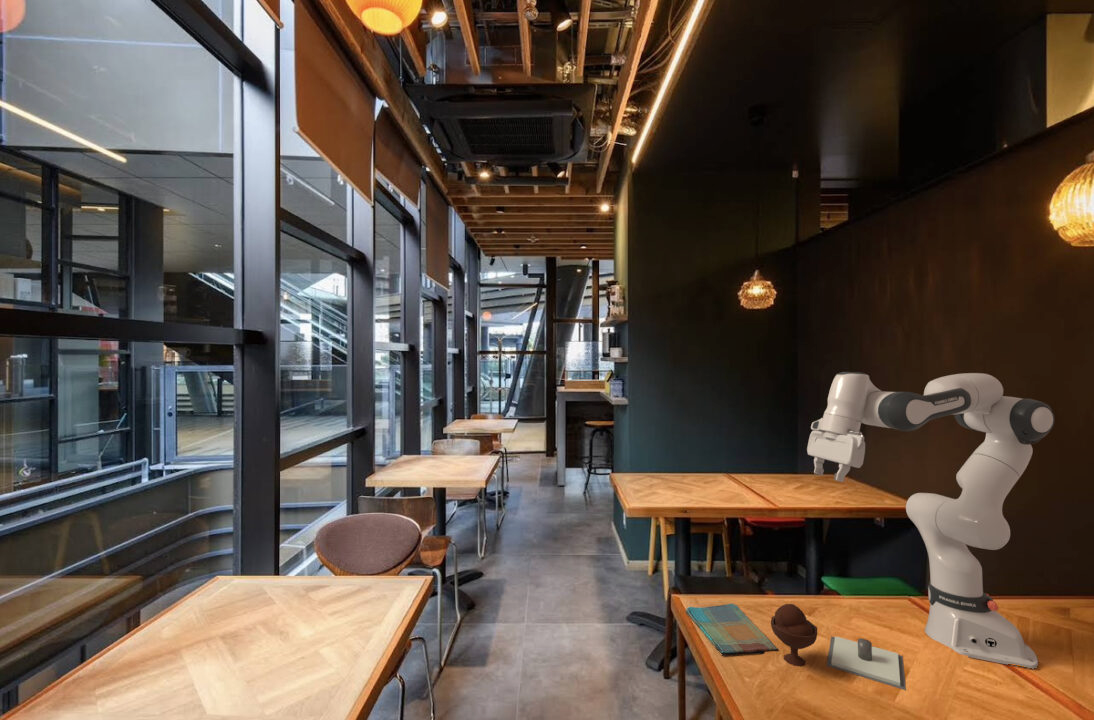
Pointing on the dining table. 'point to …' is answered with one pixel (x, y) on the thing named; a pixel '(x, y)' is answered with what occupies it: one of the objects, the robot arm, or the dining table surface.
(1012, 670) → the dining table surface
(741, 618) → the dish towel
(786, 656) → the ice cream bowl
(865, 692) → the dining table surface
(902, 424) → the robot arm
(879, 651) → the lid
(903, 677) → the mat
